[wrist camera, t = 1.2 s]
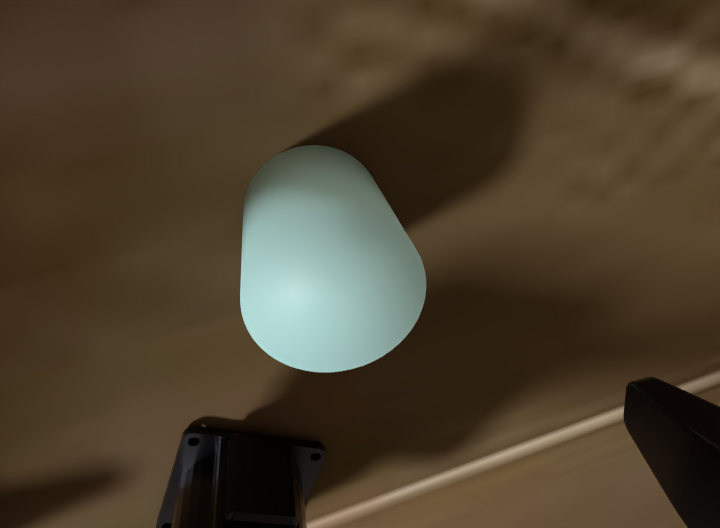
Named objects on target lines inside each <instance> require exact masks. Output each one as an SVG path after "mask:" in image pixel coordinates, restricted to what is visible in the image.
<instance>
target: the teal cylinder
mask: <svg viewBox="0 0 720 528" xmlns="http://www.w3.org/2000/svg"><path fill="white" fill-rule="evenodd" d="M425 295H426V275H425V270H424V266H423V263H422V260H421V258H420V256H419V254H418V252H417V250H416V248H415V247H414V245H413V243H412V242H411V240H410V238H409V237H408V235H407V234H406V232H405V230H404V229H403V227H402V225H401V224H400V222H399V220H398V219H397V217H396V215H395V214H394V212H393V210H392V209H391V207H390V205H389V204H388V202H387V201H386V199H385V197H384V196H383V194H382V192H381V191H380V189H379V187H378V186H377V184H376V182H375V181H374V179H373V177H372V176H371V174H370V173H369V172H368V170H367V169H366V168H365V167H364V166H363V165H362V164H361V163H360V162H359V161H358V160H357V159H356V158H354V157H353V156H351V155H349V154H348V153H346V152H344V151H342V150H339V149H336V148H333V147H329V146H322V145H305V146H298V147H295V148H291V149H288V150H286V151H284V152H281V153H279V154H278V155H276V156H274V157H273V158H271V159H270V160H269V161H267V162H266V163H265V164H264V165H263V166H262V167H261V168H260V169H259V170H258V172H257V173H256V174H255V176H254V177H253V179H252V180H251V182H250V184H249V186H248V189H247V192H246V195H245V200H244V208H243V234H242V262H241V290H240V304H241V312H242V316H243V320H244V323H245V325H246V327H247V330H248V331H249V333H250V335H251V336H252V338H253V339H254V341H255V342H256V343H257V344H258V345H259V346H260V347H261V348H262V349H263V350H264V351H265V352H266V353H267V354H269V355H270V356H272V357H273V358H275V359H276V360H278V361H280V362H282V363H284V364H286V365H288V366H291V367H294V368H297V369H301V370H305V371H312V372H339V371H345V370H350V369H354V368H357V367H361V366H364V365H366V364H368V363H371V362H373V361H375V360H377V359H379V358H380V357H382V356H384V355H385V354H387V353H388V352H390V351H391V350H392V349H394V348H395V347H396V346H397V345H398V344H399V343H400V342H401V341H402V340H403V339H404V338H405V337H406V336H407V335H408V334H409V332H410V331H411V329H412V328H413V327H414V325H415V323H416V321H417V320H418V318H419V316H420V313H421V311H422V308H423V305H424V301H425Z"/></svg>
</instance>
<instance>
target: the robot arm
mask: <svg viewBox="0 0 720 528" xmlns="http://www.w3.org/2000/svg"><path fill="white" fill-rule="evenodd" d="M624 422H625V426H626V428H627V430H628V432H629V434H630V435H631V437H632V439H633V440H634V442H635V444H636V445H637V447H638V449H639V450H640V452H641V454H642V455H643V457H644V459H645V460H646V462H647V464H648V465H649V467H650V469H651V470H652V472H653V474H654V475H655V477H656V479H657V480H658V482H659V484H660V485H661V487H662V489H663V490H664V492H665V494H666V495H667V497H668V499H669V500H670V502H671V504H672V505H673V507H674V508H675V510H676V511H677V513H678V515H679V516H680V517H681V519H682V520H683V522H684V523H685V524H686V526H687V527H688V528H720V407H719V406H717V405H715V404H713V403H711V402H708V401H706V400H704V399H702V398H700V397H697V396H695V395H693V394H691V393H688V392H686V391H684V390H682V389H680V388H677V387H675V386H673V385H671V384H669V383H666V382H664V381H662V380H660V379H657V378H654V377H646V378H642V379H639V380H635V381H632V382H630V383H629V384H628V385H627V387H626V395H625V405H624ZM194 437H195V438H197V439H191V438H194ZM313 453H316V454H313ZM325 459H326V450H325V446H324V445H323V444H322V443H318V442H312V441H304V440H296V439H289V438H281V437H274V436H266V435H259V434H251V433H243V432H236V431H228V430H221V429H213V428H206V427H198V426H192V427H189V428H187V429H186V430H185V431H184V432H183V434H182V438H181V441H180V444H179V448H178V451H177V455H176V458H175V461H174V465H173V468H172V471H171V475H170V478H169V481H168V485H167V488H166V492H165V495H164V498H163V502H162V505H161V508H160V512H159V515H158V519H157V524H156V528H307V525H306V515H305V503H306V500H307V498H308V496H309V494H310V492H311V489H312V487H313V485H314V483H315V481H316V478H317V476H318V474H319V472H320V470H321V467H322V465H323V463H324V461H325Z"/></svg>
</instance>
